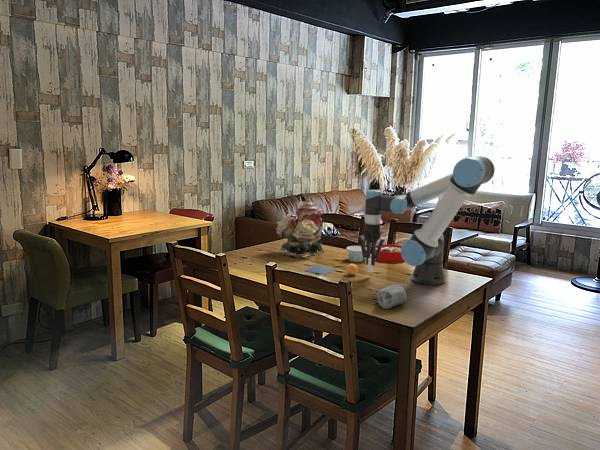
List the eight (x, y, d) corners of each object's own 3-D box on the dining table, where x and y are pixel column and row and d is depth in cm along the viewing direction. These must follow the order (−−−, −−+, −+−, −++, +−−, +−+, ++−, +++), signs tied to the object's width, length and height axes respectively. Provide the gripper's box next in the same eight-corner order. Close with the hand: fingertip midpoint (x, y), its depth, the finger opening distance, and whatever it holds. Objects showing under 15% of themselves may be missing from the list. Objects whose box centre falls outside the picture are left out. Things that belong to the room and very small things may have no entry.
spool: (390, 305, 193) (387, 280, 196) (372, 310, 200) (369, 285, 203) (414, 307, 201) (410, 283, 204) (396, 312, 208) (393, 288, 211)
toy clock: (407, 245, 291) (411, 252, 271) (407, 255, 292) (410, 263, 272) (372, 243, 293) (373, 251, 273) (371, 253, 294) (372, 262, 274)
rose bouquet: (271, 250, 298) (271, 199, 293) (316, 246, 309) (317, 197, 304) (287, 260, 275) (287, 205, 269) (335, 256, 286) (336, 203, 281)
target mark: (336, 269, 258) (336, 268, 258) (326, 274, 247) (326, 274, 247) (314, 266, 263) (314, 265, 263) (304, 271, 253) (304, 270, 253)
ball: (359, 274, 248) (359, 263, 248) (355, 276, 244) (355, 265, 243) (348, 272, 251) (349, 261, 250) (344, 275, 246) (344, 264, 245)
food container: (341, 259, 279) (341, 247, 278) (357, 256, 286) (357, 244, 285) (356, 263, 269) (357, 251, 268) (372, 260, 277) (373, 248, 275)
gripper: (388, 223, 239) (385, 271, 243) (362, 220, 245) (360, 268, 249) (383, 225, 232) (380, 275, 236) (356, 222, 238) (354, 271, 242)
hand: (370, 271), depth 243 cm, fingers closed
